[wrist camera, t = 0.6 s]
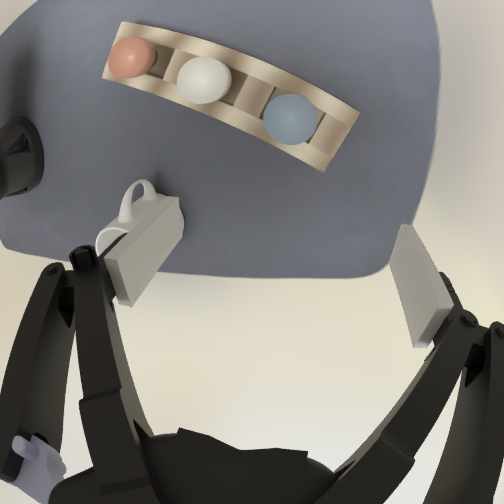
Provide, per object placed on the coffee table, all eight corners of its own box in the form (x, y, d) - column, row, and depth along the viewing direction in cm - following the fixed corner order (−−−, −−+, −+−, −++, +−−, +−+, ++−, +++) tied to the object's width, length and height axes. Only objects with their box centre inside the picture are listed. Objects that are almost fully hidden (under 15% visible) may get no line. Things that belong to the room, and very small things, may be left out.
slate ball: (261, 123, 27) (254, 130, 24) (281, 85, 25) (277, 85, 21) (301, 144, 28) (301, 154, 24) (323, 107, 25) (327, 110, 21)
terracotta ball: (125, 72, 25) (102, 73, 22) (138, 36, 23) (116, 33, 19) (156, 81, 26) (135, 83, 22) (172, 44, 23) (152, 40, 19)
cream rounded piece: (187, 92, 26) (169, 94, 23) (204, 54, 24) (188, 50, 20) (226, 107, 27) (213, 111, 23) (244, 69, 24) (234, 66, 20)
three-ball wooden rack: (115, 76, 28) (101, 77, 26) (134, 24, 24) (122, 21, 21) (321, 165, 32) (323, 172, 29) (355, 110, 27) (360, 112, 25)
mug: (184, 170, 35) (145, 203, 26) (187, 246, 42) (158, 292, 33) (130, 167, 36) (83, 197, 27) (139, 237, 43) (103, 278, 34)
